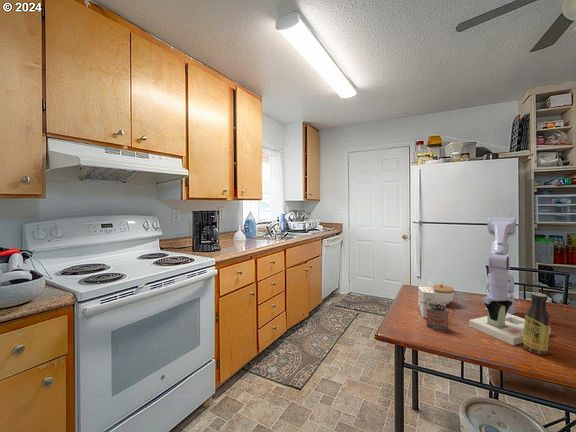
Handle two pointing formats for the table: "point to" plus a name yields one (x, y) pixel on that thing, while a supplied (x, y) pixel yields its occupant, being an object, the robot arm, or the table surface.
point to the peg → (500, 320)
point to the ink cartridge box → (425, 298)
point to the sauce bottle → (537, 325)
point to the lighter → (437, 316)
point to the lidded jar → (443, 294)
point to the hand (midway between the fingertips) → (497, 318)
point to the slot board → (503, 328)
